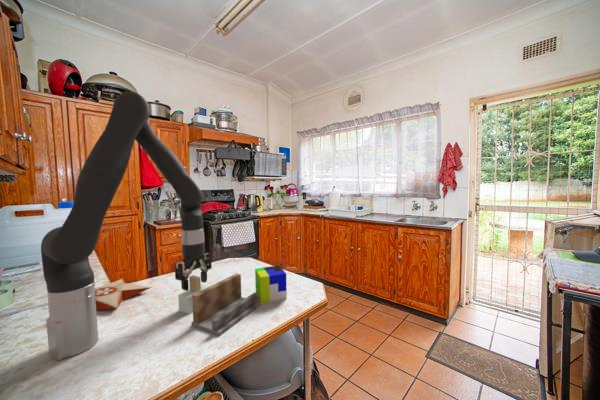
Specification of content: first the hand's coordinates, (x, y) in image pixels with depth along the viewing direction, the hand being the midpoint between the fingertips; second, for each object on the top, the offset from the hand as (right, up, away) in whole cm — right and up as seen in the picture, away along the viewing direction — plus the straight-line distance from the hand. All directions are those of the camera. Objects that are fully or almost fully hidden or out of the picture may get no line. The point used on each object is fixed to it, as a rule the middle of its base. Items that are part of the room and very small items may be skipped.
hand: (195, 285), depth 87 cm
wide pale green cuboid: (0, -8, 0) cm, 8 cm away
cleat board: (+14, -8, -6) cm, 17 cm away
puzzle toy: (+27, -7, +8) cm, 29 cm away
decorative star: (-37, -8, +5) cm, 38 cm away
